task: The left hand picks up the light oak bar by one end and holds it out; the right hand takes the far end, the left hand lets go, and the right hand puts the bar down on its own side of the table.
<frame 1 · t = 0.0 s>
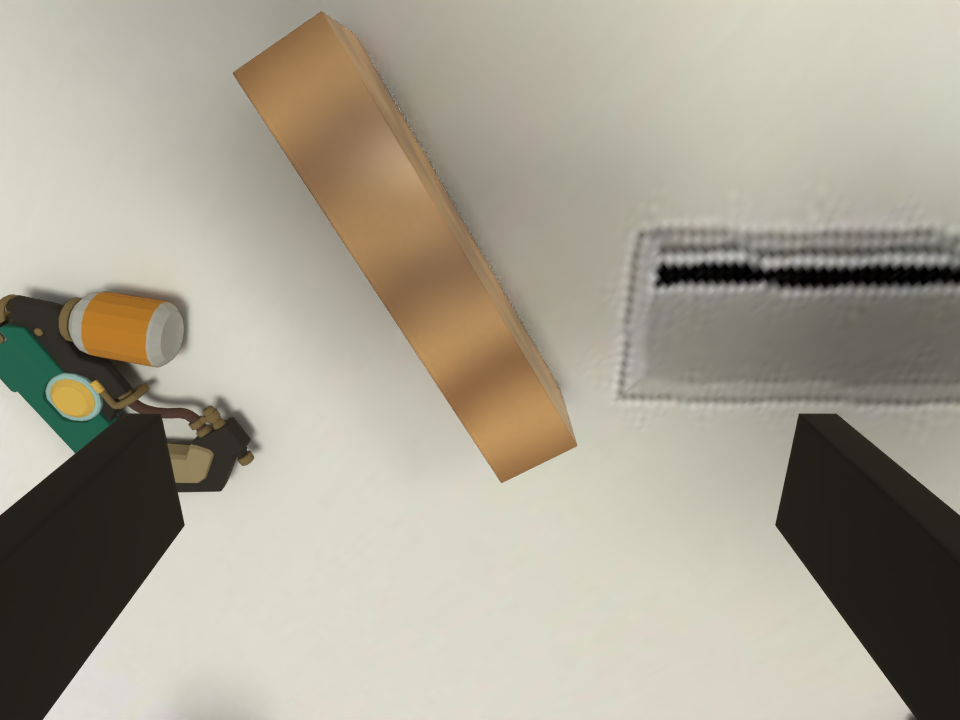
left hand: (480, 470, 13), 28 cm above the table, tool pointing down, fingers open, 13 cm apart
spray gun: (132, 390, 43), on the table
bar: (434, 250, 39), on the table
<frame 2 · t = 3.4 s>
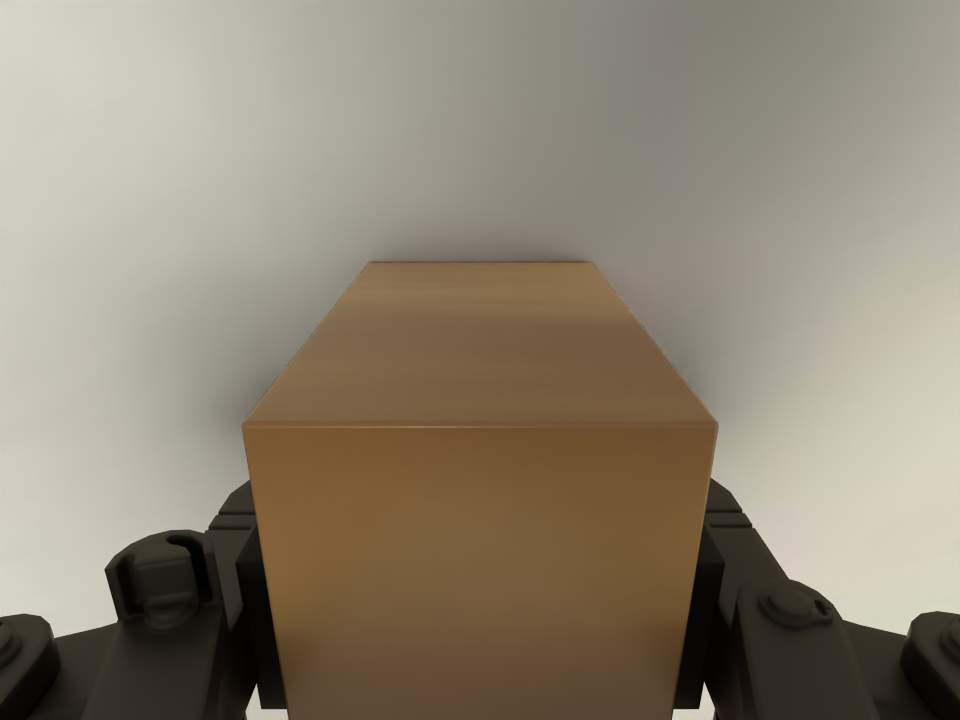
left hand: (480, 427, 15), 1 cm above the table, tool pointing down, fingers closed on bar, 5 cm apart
bar: (480, 681, 18), on the table, touching left hand
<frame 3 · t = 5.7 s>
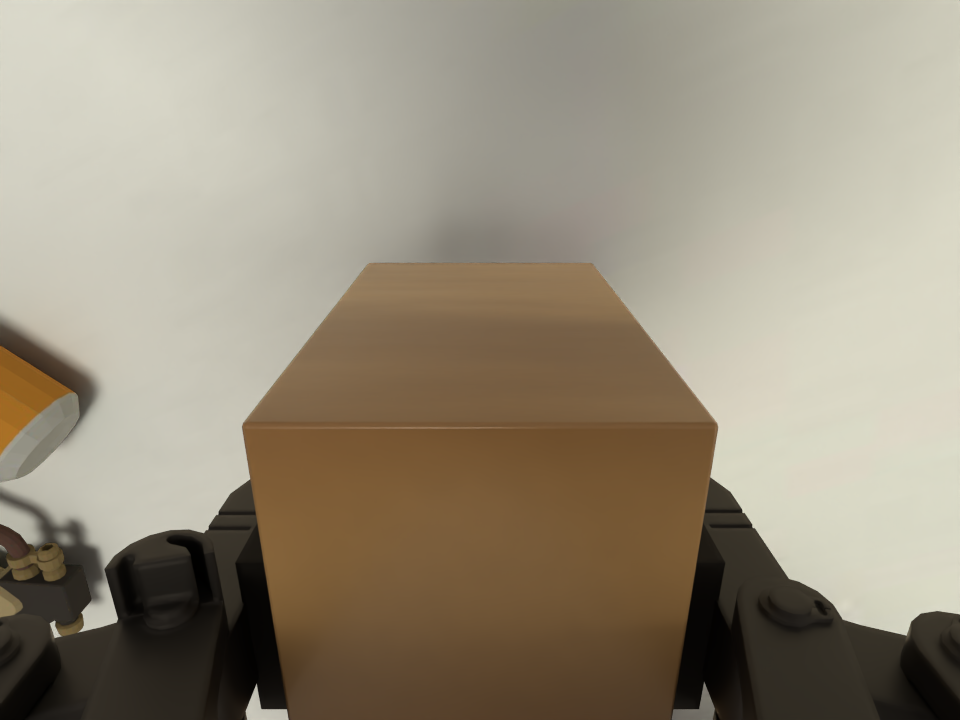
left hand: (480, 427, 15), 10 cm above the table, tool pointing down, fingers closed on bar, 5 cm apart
bar: (480, 682, 18), point 10 cm above the table, touching left hand
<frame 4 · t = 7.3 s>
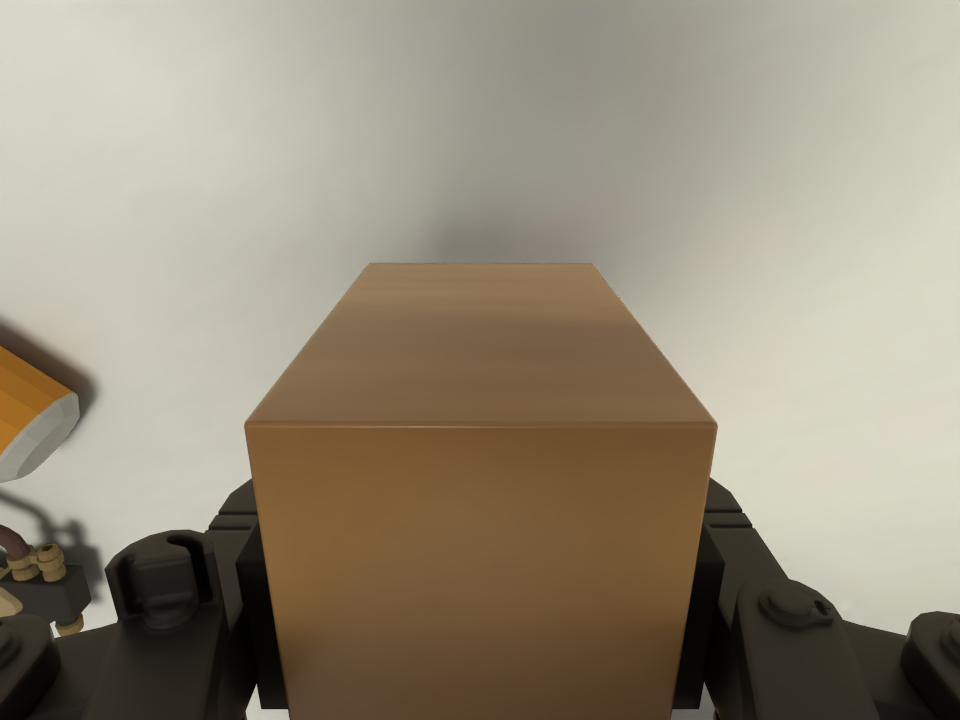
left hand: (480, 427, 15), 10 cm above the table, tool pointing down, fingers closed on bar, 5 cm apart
bar: (479, 681, 18), point 10 cm above the table, touching left hand, right hand
when the left hand's fingers open (10 cm above the table, at t = 8.2 s): bar stays where it is, held by the right hand.
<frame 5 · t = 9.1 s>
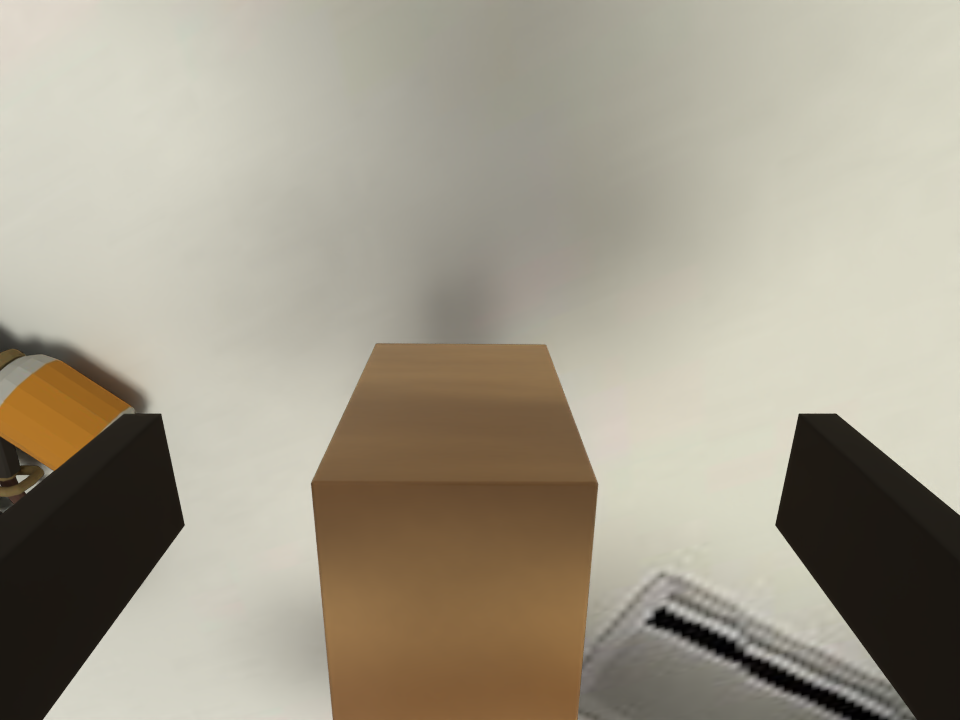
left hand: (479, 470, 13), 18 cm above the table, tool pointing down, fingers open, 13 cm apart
spray gun: (17, 459, 32), on the table
bar: (460, 674, 22), point 12 cm above the table, touching right hand
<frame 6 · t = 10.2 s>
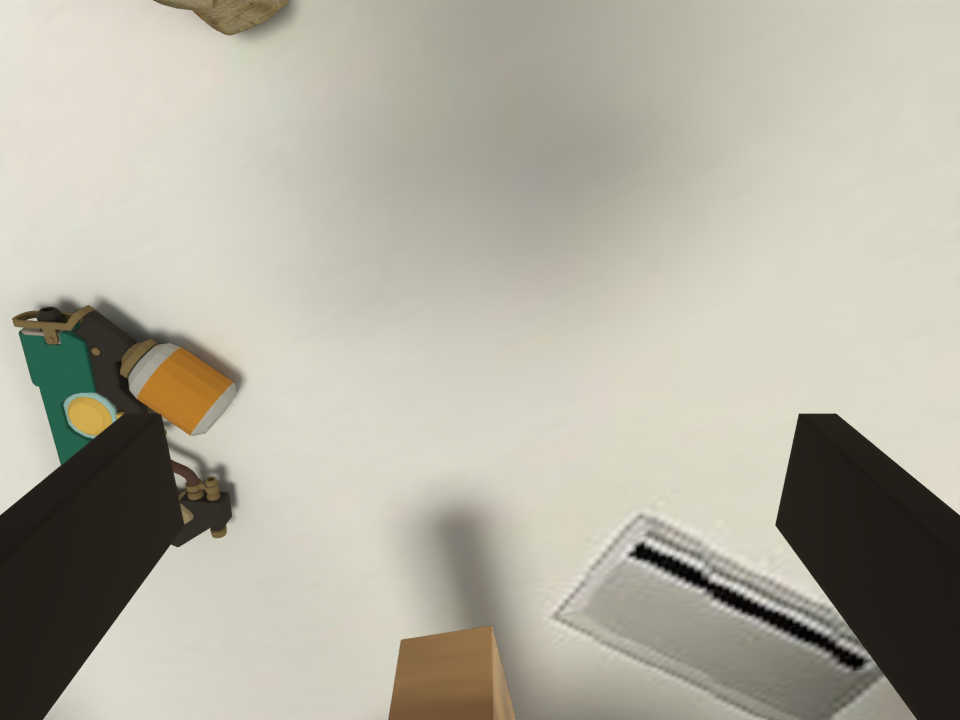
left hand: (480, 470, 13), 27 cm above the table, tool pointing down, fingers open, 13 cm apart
spray gun: (144, 422, 43), on the table
when the right hand's fingers open (4 cm above the table, at t = 13.3 s): bar drops 2 cm, on the table.
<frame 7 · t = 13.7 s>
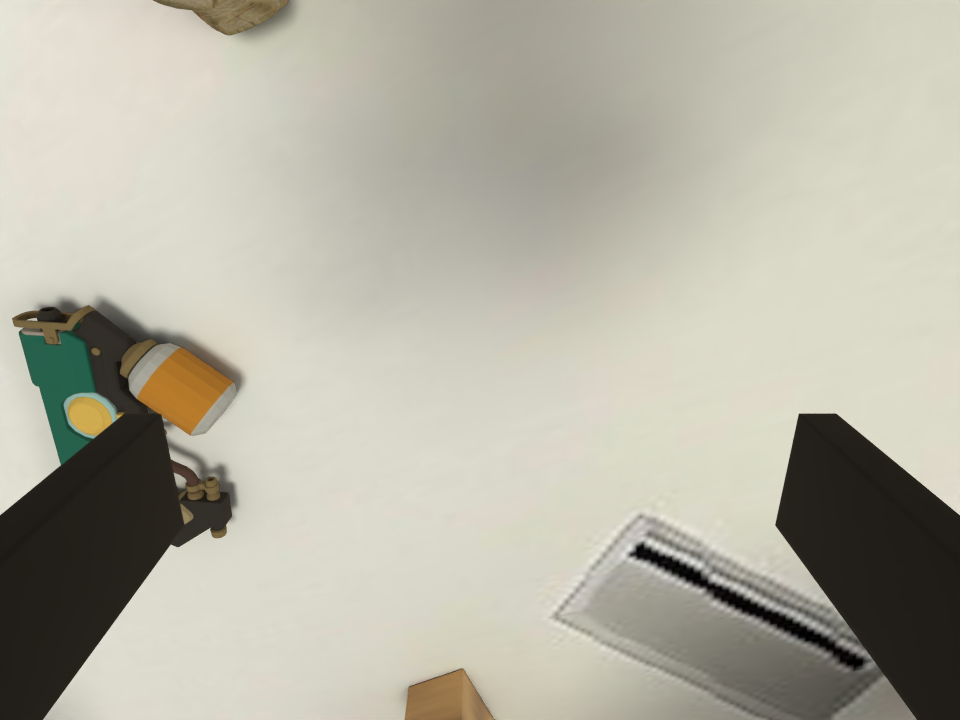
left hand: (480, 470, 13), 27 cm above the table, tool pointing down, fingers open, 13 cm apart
spray gun: (144, 422, 43), on the table
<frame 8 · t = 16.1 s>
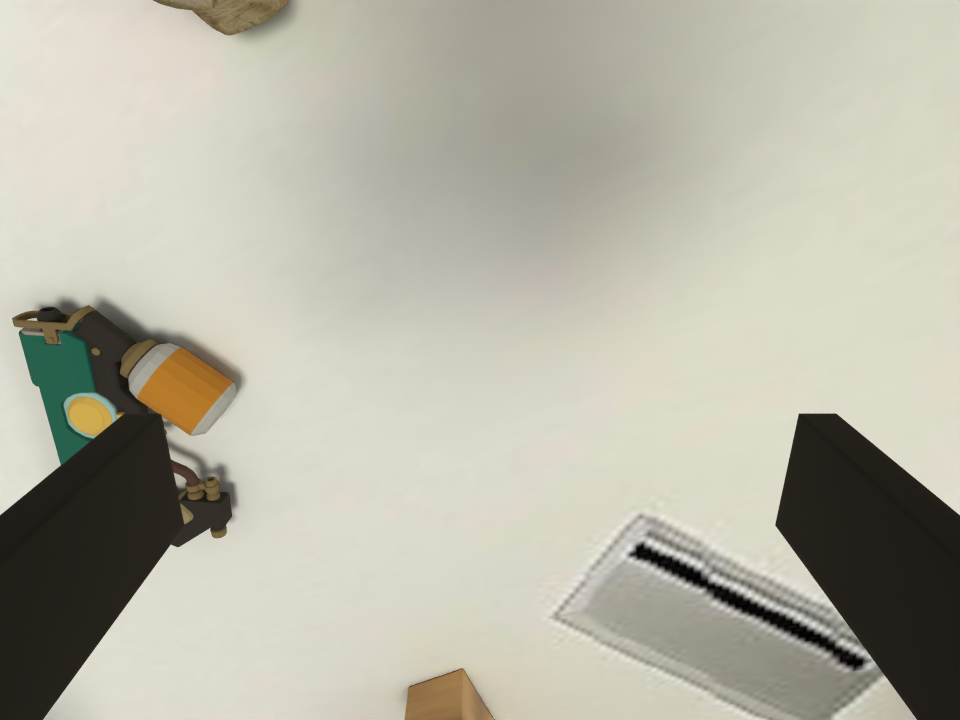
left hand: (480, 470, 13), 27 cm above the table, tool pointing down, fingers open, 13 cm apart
spray gun: (144, 422, 43), on the table
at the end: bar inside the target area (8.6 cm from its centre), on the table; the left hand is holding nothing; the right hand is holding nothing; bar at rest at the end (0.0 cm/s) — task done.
